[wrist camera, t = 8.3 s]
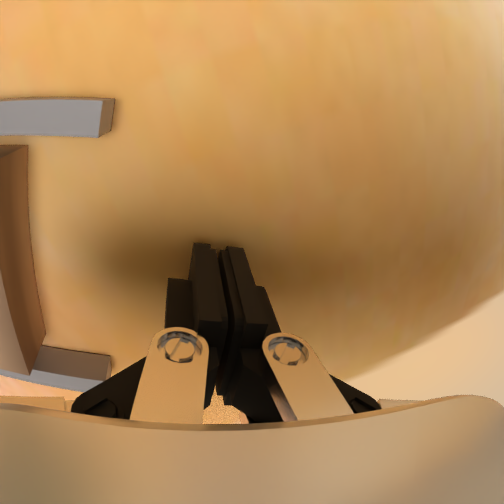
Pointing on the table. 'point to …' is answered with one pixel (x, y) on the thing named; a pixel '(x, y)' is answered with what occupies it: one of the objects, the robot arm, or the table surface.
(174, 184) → the table surface
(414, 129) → the table surface
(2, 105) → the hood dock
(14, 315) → the walnut tile
